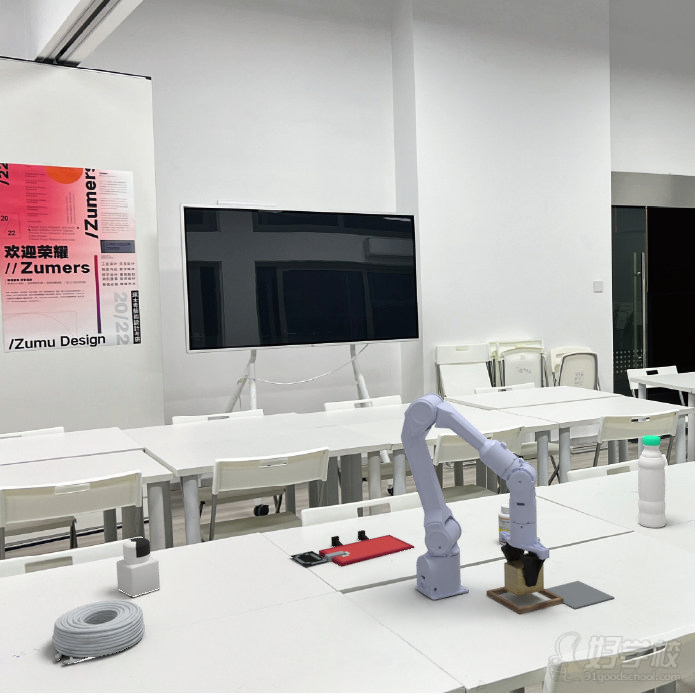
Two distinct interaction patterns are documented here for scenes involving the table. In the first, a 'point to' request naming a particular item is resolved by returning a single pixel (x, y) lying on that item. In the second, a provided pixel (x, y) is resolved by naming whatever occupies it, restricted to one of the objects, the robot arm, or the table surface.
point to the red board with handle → (355, 550)
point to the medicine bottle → (137, 568)
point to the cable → (98, 629)
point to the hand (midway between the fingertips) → (523, 581)
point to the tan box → (520, 579)
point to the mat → (579, 594)
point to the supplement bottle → (504, 520)
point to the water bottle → (651, 484)
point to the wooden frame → (529, 608)
